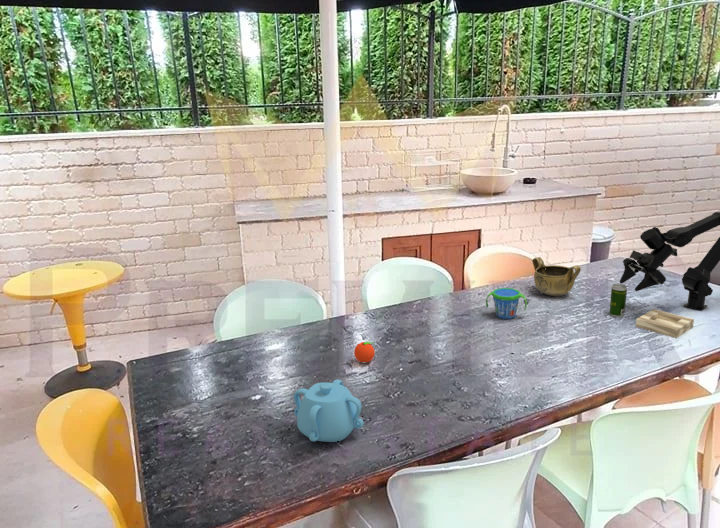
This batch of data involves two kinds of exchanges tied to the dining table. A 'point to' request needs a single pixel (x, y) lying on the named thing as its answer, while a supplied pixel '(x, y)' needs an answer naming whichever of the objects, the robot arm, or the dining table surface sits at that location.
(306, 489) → the dining table surface
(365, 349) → the clementine
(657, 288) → the dining table surface
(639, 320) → the birch tray
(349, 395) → the decorative pot
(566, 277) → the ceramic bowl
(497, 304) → the snack cup
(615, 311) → the beer can
